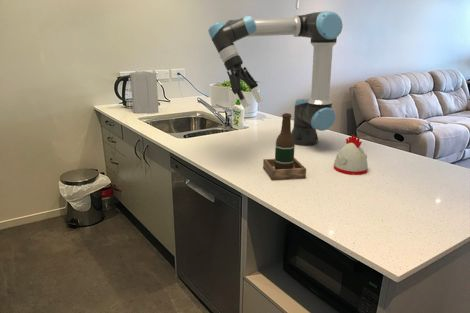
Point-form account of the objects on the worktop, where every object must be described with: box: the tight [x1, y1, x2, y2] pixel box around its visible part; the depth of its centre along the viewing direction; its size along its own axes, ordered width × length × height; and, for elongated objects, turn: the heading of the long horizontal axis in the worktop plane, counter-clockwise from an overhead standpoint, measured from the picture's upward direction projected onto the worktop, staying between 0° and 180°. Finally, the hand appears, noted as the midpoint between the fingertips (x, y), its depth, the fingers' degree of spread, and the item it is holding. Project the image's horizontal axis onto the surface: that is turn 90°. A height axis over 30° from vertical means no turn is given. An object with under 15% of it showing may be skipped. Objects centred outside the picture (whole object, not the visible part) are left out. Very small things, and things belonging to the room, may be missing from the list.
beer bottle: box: [274, 112, 296, 170], centre depth 147 cm, size 8×8×24 cm
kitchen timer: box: [333, 134, 369, 176], centre depth 154 cm, size 14×14×15 cm
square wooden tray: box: [262, 157, 307, 181], centre depth 150 cm, size 14×14×4 cm
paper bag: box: [129, 70, 160, 115], centre depth 260 cm, size 19×15×28 cm
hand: (253, 104), depth 153 cm, fingers open, 13 cm apart
